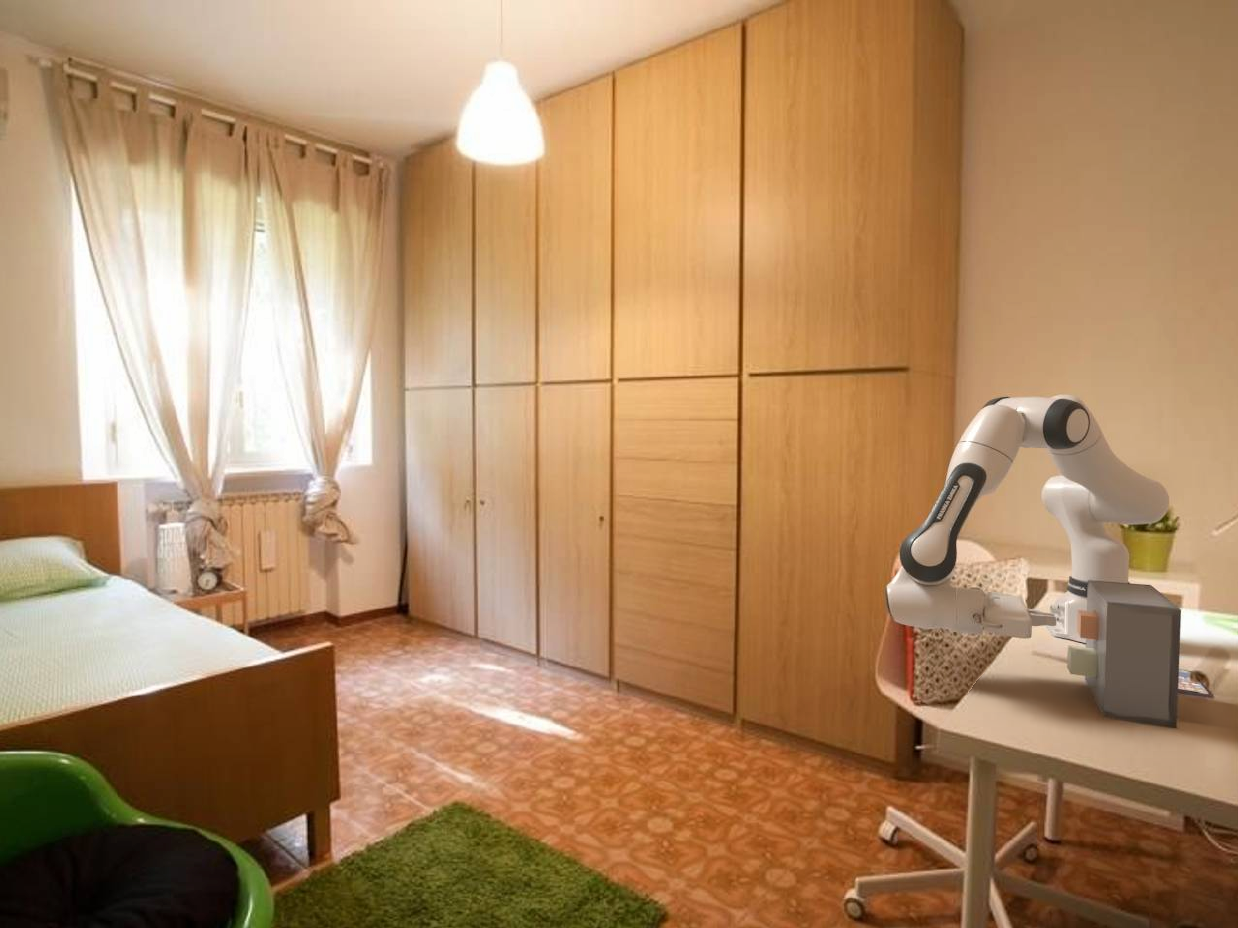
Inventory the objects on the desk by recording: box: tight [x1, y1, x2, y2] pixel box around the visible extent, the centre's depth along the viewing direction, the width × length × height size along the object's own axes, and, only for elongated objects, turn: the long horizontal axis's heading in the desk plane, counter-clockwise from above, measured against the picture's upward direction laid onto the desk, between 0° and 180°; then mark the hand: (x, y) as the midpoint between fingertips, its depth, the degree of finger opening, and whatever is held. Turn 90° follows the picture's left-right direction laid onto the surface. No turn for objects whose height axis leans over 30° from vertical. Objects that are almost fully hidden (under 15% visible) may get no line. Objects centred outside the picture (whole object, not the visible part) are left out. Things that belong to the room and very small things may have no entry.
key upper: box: [1077, 610, 1099, 640], centre depth 125 cm, size 5×4×4 cm
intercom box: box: [1084, 580, 1182, 729], centre depth 123 cm, size 10×20×20 cm, turn 153°
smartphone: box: [1178, 668, 1212, 698], centre depth 134 cm, size 1×7×15 cm
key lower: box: [1066, 644, 1097, 677], centre depth 126 cm, size 5×4×4 cm
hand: (1055, 619), depth 128 cm, fingers closed
